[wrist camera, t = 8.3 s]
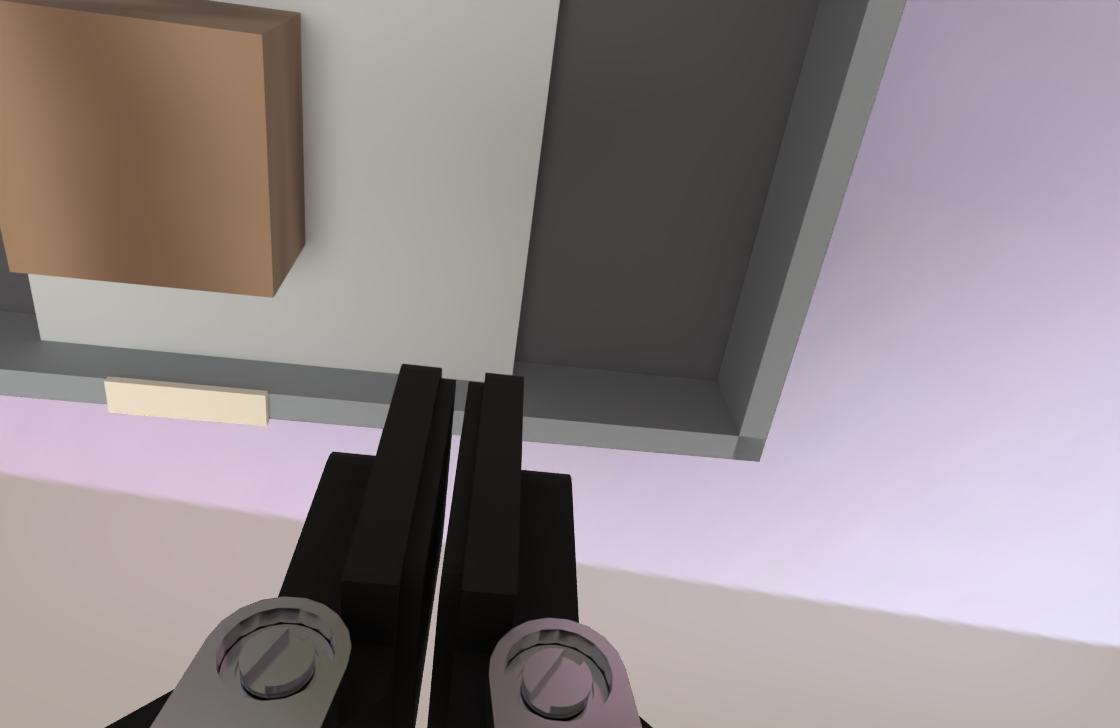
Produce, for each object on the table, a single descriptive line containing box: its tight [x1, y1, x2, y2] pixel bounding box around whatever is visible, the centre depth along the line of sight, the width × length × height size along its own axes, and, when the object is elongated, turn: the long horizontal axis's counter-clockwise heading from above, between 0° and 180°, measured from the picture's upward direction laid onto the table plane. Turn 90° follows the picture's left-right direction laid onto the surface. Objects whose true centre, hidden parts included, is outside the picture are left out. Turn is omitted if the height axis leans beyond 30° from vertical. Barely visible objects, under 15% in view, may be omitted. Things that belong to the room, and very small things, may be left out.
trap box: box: [0, 0, 907, 462], centre depth 25 cm, size 34×18×5 cm, turn 82°
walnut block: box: [0, 0, 305, 298], centre depth 23 cm, size 7×7×4 cm
